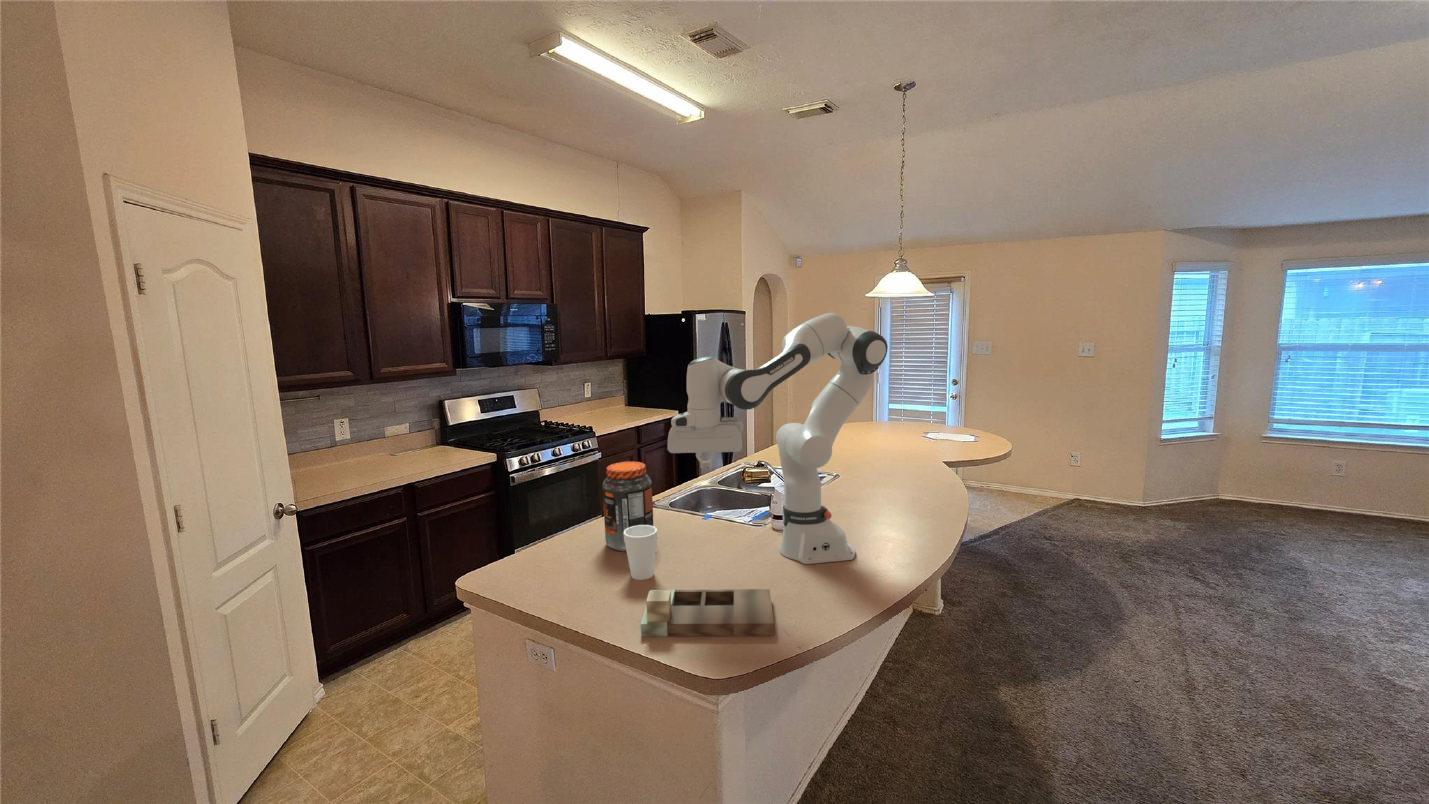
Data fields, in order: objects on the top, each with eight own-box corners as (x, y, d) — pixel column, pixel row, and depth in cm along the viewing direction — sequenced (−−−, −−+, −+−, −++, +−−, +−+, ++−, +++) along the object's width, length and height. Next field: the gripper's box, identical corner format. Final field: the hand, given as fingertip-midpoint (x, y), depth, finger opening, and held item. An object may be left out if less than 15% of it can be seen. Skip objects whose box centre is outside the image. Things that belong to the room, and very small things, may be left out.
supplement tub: (608, 535, 185) (604, 461, 181) (655, 533, 186) (651, 458, 182) (602, 554, 169) (597, 473, 166) (653, 551, 170) (649, 471, 167)
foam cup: (665, 571, 156) (663, 528, 154) (645, 585, 148) (643, 539, 146) (639, 565, 161) (637, 522, 159) (618, 578, 153) (616, 533, 151)
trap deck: (769, 600, 138) (769, 589, 138) (774, 635, 122) (773, 623, 122) (651, 601, 139) (651, 590, 139) (641, 636, 123) (640, 624, 123)
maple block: (671, 610, 129) (670, 590, 128) (669, 621, 124) (668, 600, 123) (650, 610, 129) (649, 590, 128) (647, 622, 124) (646, 601, 123)
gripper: (742, 415, 149) (744, 464, 151) (668, 416, 150) (670, 465, 152) (743, 418, 143) (744, 470, 145) (665, 420, 144) (667, 471, 146)
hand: (705, 468), depth 148 cm, fingers closed
